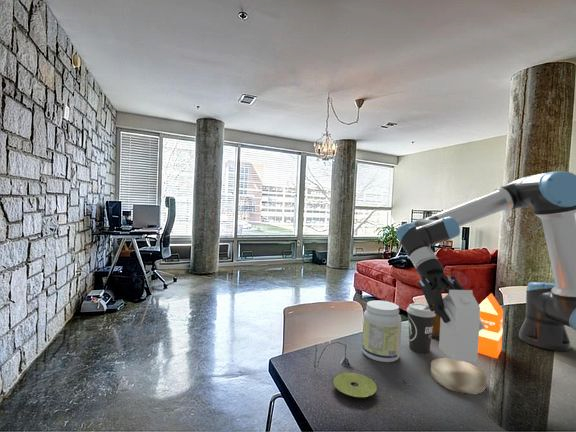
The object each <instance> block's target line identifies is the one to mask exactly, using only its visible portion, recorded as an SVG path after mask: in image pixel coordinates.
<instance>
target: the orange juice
mask: <svg viewBox="0 0 576 432" xmlns="http://www.w3.org/2000/svg"><path fill="white" fill-rule="evenodd" d="M478 305H479V306H480V320H481V321H482V323H483V324H484V326H485V328H484V329H482V330H480V331H479V341H478V354H482V355H485V356H488V357H491V358H493V359H494V358H495V359H498V358H499V355H500V354H501V352H502V348H503V347H502V346H503V343H502V342H503V330H504V329H503V326H504V325H503V324H504V309H503V308H502V306H501V305H500V303H499V302H498V300H497V299H496V297H495V296H494V294H493V293H492V292H491V293H489V295H488V296H486V298H485V299H483V300H482V301H481V302H480V303H478Z"/></svg>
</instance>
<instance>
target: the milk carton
mask: <svg viewBox="0 0 576 432" xmlns="http://www.w3.org/2000/svg"><path fill="white" fill-rule="evenodd" d="M473 293H474V292H473V290H472V289H464V290H449V294H448V293H447V295H445V296H444V297H442V298H443V303H444V307H445V309H448V310H449V312H450V313H451V315H452V317H453V318H454V320H455V322H456V323H457V325H458V326H459V328H460V330H461V332H459V333H458V334H456V335H454V336H453V335H452V333H451V332H450V330H449V328H448V326H447V325H446V323H444V322H443V320H442V318H441V319H440V339H439V340H438V341H439V342H438V350H440V352H442V353H444V355H445V356H448V357H447V358H451V359H452V360H453V361H464V362H467V361H469V362H470V361H471V362H473V361H474V362H477V361H478V357H479V353H478V341H479V322H480V306H479V303H478V301H477V300H476V297H475V296H474V294H473ZM445 309H444V310H445Z"/></svg>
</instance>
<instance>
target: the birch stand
mask: <svg viewBox="0 0 576 432" xmlns="http://www.w3.org/2000/svg"><path fill="white" fill-rule="evenodd" d="M430 377H431V378H432V379H433V381H435V383H437V384H438V383H439V384H438V385H440V386H441V387H443V386H444V388H446V389H448V390H450V391H453V392H456V393H459V392H460V394H464V393H467V394H466V395H474V394H473V393H480V392H483V391H484V390H485V389H486V390H487V375H486V373H485V372H484V370H482V369H481V368H480V367H478V366H476V365H474V364H472V363H470V362H467V361H453V360H452V359H451V358H450V357H439V358H438V357H437V358H435V359H433V360H431V361H430ZM486 390H485V391H486ZM485 391H484V392H485ZM484 392H483V393H484Z"/></svg>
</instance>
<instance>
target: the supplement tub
mask: <svg viewBox="0 0 576 432" xmlns="http://www.w3.org/2000/svg"><path fill="white" fill-rule="evenodd" d="M365 308H366V310H365V311H364V313H363V322H362V323H363V326H362V352H363V354H364V356H366V357H367V358H369V359H371V360H373V361H376V362H381V363H392V362H395V361H397V360H398V359H399V358H400V355H401V339H402V316H401V315H400V314H399V313H400V306H399V305H398V304H397V303H394V302H391V301H387V300H379V299H378V300H369V301H367V302H366V307H365Z"/></svg>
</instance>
